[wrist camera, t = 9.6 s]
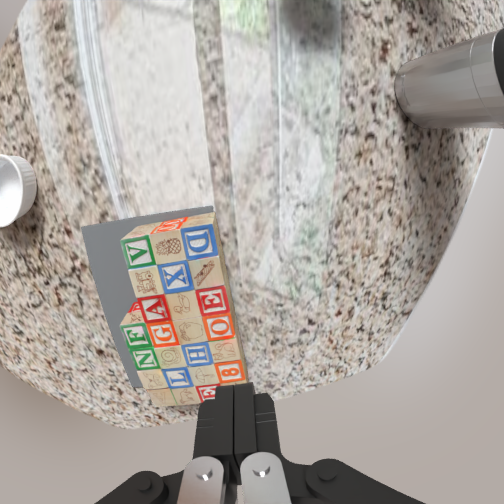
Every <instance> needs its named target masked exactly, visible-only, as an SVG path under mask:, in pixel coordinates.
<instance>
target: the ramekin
mask: <svg viewBox="0 0 504 504" xmlns="http://www.w3.org/2000/svg"><path fill="white" fill-rule="evenodd" d="M36 192H37V182H36V176H35V173H34V170H33V168H32V166H31V165H30V163H29V162H28V161H27V160H25V159H24V158H22V157H19V156H7V155H3V154H0V227H6V226H8V225H10V224H11V223H13V222H14V221H15V220H16V219H18V218H19V217H21V216H23V215H24V214H25V213H27V212H28V210H30V208H31V207H32V205H33V203H34V200H35V197H36Z"/></svg>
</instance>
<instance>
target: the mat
mask: <svg viewBox="0 0 504 504" xmlns="http://www.w3.org/2000/svg"><path fill="white" fill-rule="evenodd" d="M211 212H213V206H207V207H200V208H192V209H186V210H179V211H172V212H166V213H159V214H153V215H147V216H141V217H134V218H129V219H123V220H117V221H111V222H106V223H100V224H95V225H89V226H84V227H81V229H82V234H83V238H84V242H85V246H86V250H87V254H88V258H89V262H90V266H91V270H92V273H93V277H94V281H95V284H96V287H97V291H98V294H99V297H100V301H101V304H102V307H103V310H104V313H105V316H106V319H107V322H108V325H109V328H110V331H111V334H112V337H113V339H114V342H115V345H116V347H117V350H118V353H119V355H120V358H121V360H122V363H123V366H124V368H125V370H126V373H127V375H128V378H129V380H130V383H131V385H132V387H143V385H142V382H141V380H140V378H139V376H138V373H137V369H136V368H135V365H134V363H133V360H132V358H131V355H130V353H129V348H128V347H127V345H126V342H125V340H124V337H123V334H122V332H121V329H120V324H121V322H122V321H123V319H124V317H125V316H126V314H127V313H128V311H129V310H130V308H131V306H132V304H133V303H134V302H138V300H137V298H136V295H135V292H134V289H133V286H132V282H131V279H130V276H129V272H128V268H127V264H126V261H125V257H124V254H123V250H122V246H121V242H120V240H121V239H122V238H123V237H125V236H126V235H127V234H128V233H130V232H131V231H132V230H133V229H135V228H136V227H137V226H141V225H146V224H151V223H157V222H164V221H168V220H173V219H178V218H183V217H191V216H195V215H200V214H205V213H211Z"/></svg>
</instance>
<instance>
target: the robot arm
mask: <svg viewBox="0 0 504 504" xmlns="http://www.w3.org/2000/svg"><path fill="white" fill-rule="evenodd" d="M395 92H396V97H397V100H398V102H399V105H400V107H401V109H402V110H403V112H404V113H405V115H406V116H407V117H408V118H409V119H410V120H411V121H412V122H413V123H415V124H416V125H418V126H420V127H423V128H427V129H438V128H504V29H500V30H497V31H493V32H490V33H487V34H483V35H481V36H478V37H474V38H471V39H468V40H465V41H462V42H460V43H457V44H454V45H451V46H448V47H445V48H443V49H440V50H437V51H435V52H432V53H429V54H427V55H424V56H421V57H419V58H417V59H414V60H412V61H409V62H407V63H405V64H404V65H403V66H401V68H400V69H399V70H398V73H397V75H396V79H395ZM237 485H242V489H243V496H244V504H425V503H423V502H420V501H418V500H416V499H414V498H411V497H409V496H407V495H405V494H403V493H401V492H398V491H396V490H394V489H392V488H390V487H388V486H386V485H384V484H382V483H380V482H378V481H376V480H374V479H372V478H370V477H368V476H366V475H364V474H363V473H361V472H359V471H357V470H355V469H353V468H352V467H350V466H348V465H346V464H345V463H343V462H341V461H339V460H336V459H322V460H319V461H317V462H315V463H313V464H312V465H301V464H295V463H292V462H290V461H288V460H287V459H285V458H284V457H283V455H282V454H281V450H280V442H279V435H278V428H277V421H276V414H275V408H274V401H273V400H272V398H271V397H270V396H269V395H268V393H262V394H255V390H254V385H253V382H251V383H243V384H235V386H234V385H225V386H216V389H215V399H205V400H204V402H203V403H202V405H201V406H200V408H199V411H198V421H197V429H196V435H195V444H194V453H193V459H192V461H190V462H189V463H188V464H187V465H186V467H185V469H184V470H183V471H181V472H179V473H175V474H172V475H167V476H163V477H160V476H159V475H158V474H157V473H155V472H151V471H141V472H138V473H136V474H134V475H133V476H132V477H130V478H129V479H128V480H126V481H125V482H124V483H122V484H121V485H120V486H118V487H117V488H116V489H114V490H113V491H112V492H110V493H109V494H107V495H106V496H105V497H103V498H102V499H101V500H99V501H98V502H96V503H95V504H238V499H237Z"/></svg>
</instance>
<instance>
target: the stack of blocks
mask: <svg viewBox="0 0 504 504" xmlns="http://www.w3.org/2000/svg"><path fill="white" fill-rule="evenodd" d="M120 242H121V246H122V250H123V254H124V257H125V261H126V264H127V268H128V272H129V276H130V279H131V282H132V286H133V289H134V292H135V295H136V298H137V300H138V302H134V303H133V304H132V306H131V308H130V310H129V311H128V313H127V314H126V316H125V317H124V319H123V321H122V322H121V324H120V329H121V332H122V334H123V337H124V340H125V342H126V345H127V347H128V348H129V353H130V355H131V358H132V360H133V363H134V365H135V368H136V369H137V373H138V376H139V378H140V380H141V382H142V385H143V387H144V389H146V390H147V392H148V394H149V397H150V398H151V401H152V403H153V405H154V407H164V406H175V405H177V406H181V405H193V404H199V403H203V402H204V400H205V399H215V389H216V386H225V385H234V386H235V384H243V383H248V373H247V365H246V360H245V356H244V351H243V347H242V342H241V338H240V333H239V329H238V324H237V319H236V314H235V310H234V304H233V300H232V295H231V290H230V285H229V280H228V275H227V270H226V265H225V260H224V254H223V249H222V244H221V240H220V235H219V230H218V224H217V219H216V213H215V212H211V213H205V214H200V215H195V216H191V217H183V218H178V219H173V220H168V221H164V222H157V223H151V224H146V225H141V226H137V227H136V228H135V229H133V230H132V231H131V232H130V233H128V234H127V235H126V236H125V237H123V238H122V239H121V240H120Z"/></svg>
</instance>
